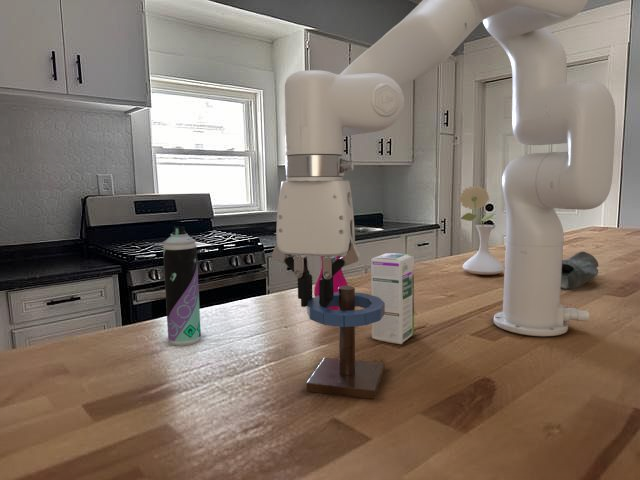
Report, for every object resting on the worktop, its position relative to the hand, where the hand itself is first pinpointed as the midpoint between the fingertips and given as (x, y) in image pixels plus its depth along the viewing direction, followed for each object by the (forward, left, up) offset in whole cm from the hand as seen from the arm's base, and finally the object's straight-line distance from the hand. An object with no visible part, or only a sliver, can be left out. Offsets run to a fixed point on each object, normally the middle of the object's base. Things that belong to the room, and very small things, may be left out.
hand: (315, 304), depth 64 cm
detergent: (-49, -73, -11) cm, 89 cm away
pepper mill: (+6, -31, -11) cm, 33 cm away
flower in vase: (-26, -78, -11) cm, 83 cm away
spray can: (+27, -9, -11) cm, 30 cm away
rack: (-4, 0, -11) cm, 12 cm away
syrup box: (-8, -19, -11) cm, 23 cm away
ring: (-4, 0, -1) cm, 4 cm away
